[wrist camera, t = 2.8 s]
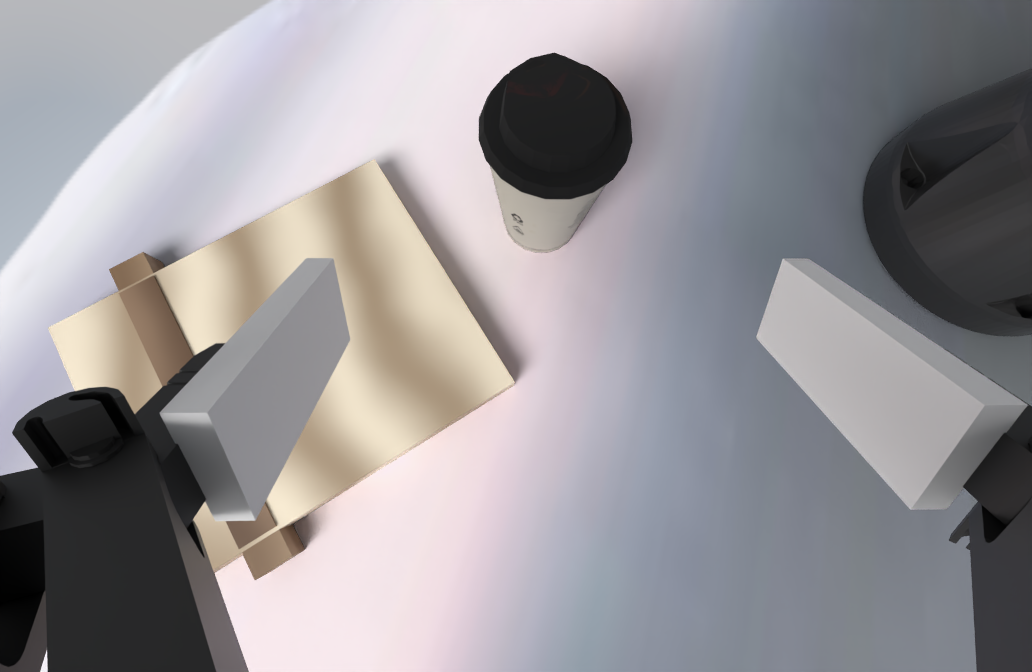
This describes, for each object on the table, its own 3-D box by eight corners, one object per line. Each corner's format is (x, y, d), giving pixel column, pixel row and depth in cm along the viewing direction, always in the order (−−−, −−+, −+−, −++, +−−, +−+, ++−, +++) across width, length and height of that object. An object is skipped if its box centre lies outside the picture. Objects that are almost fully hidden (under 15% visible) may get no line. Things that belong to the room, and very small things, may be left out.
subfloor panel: (369, 155, 30) (362, 139, 28) (528, 407, 26) (529, 405, 25) (63, 312, 27) (36, 304, 25) (197, 617, 23) (175, 630, 22)
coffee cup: (615, 242, 29) (673, 139, 19) (516, 289, 28) (524, 208, 18) (562, 153, 30) (590, 14, 20) (466, 196, 29) (447, 73, 19)
